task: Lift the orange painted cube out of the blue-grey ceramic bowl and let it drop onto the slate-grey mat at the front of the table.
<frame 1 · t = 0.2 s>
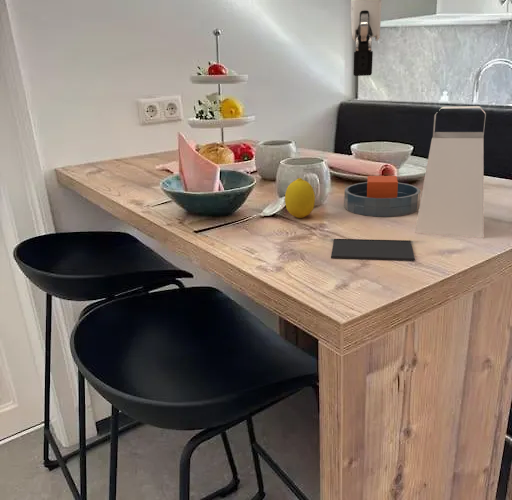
hand: (362, 74, 94), 25 cm above the table, tool pointing down, fingers open, 9 cm apart
grater: (449, 230, 85), on the table
cube: (381, 206, 98), point 1 cm above the table, touching bowl
lemon: (300, 221, 94), on the table
mat: (371, 249, 78), on the table
bowl: (381, 209, 98), on the table
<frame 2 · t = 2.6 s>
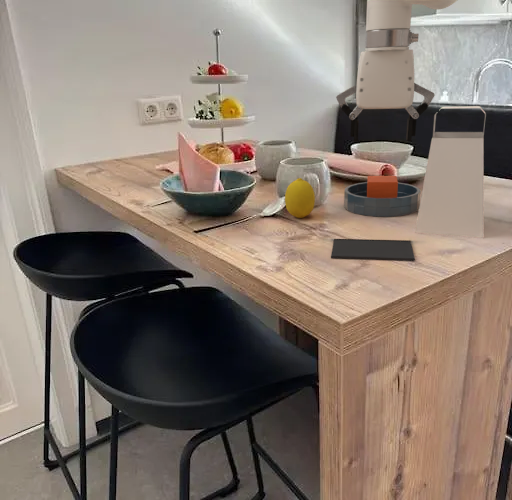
hand: (382, 140, 94), 13 cm above the table, tool pointing down, fingers open, 9 cm apart
nothing on the table moved.
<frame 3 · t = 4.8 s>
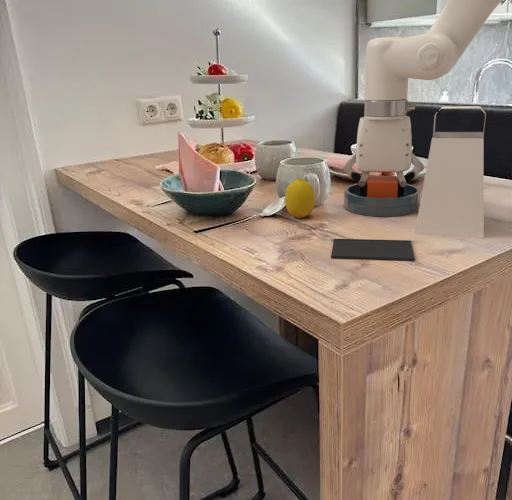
hand: (381, 204, 98), 1 cm above the table, tool pointing down, fingers closed on cube, 5 cm apart
cube: (381, 206, 98), point 1 cm above the table, touching bowl, gripper
everything else where it was.
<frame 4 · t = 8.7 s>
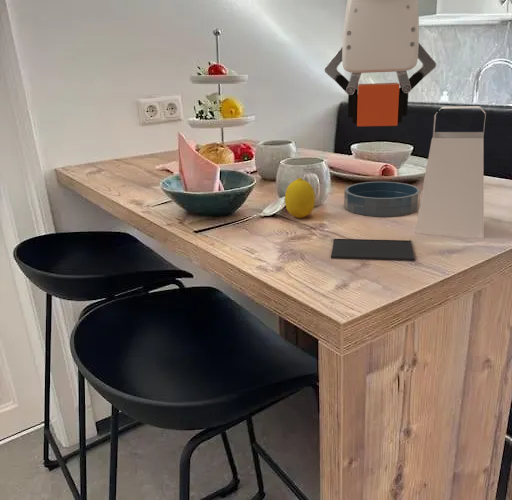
hand: (376, 121, 72), 19 cm above the table, tool pointing down, fingers closed on cube, 5 cm apart
cube: (376, 123, 72), point 19 cm above the table, touching gripper
everything else where it was.
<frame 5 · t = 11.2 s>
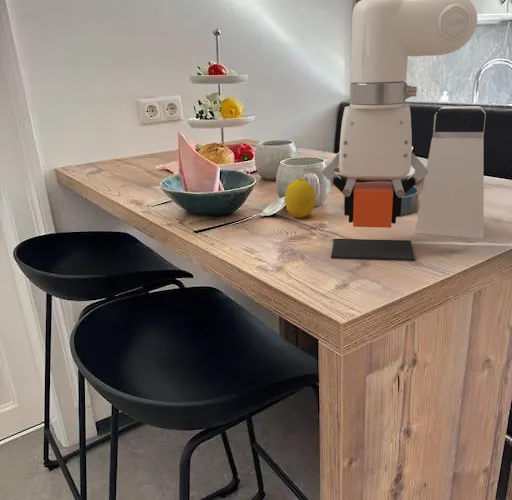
hand: (371, 219, 76), 5 cm above the table, tool pointing down, fingers closed on cube, 5 cm apart
cube: (371, 221, 76), point 4 cm above the table, touching gripper
everything else where it was.
when the fingers open (1 cm above the table, at t = 12.8 s): cube stays where it is, resting on mat.
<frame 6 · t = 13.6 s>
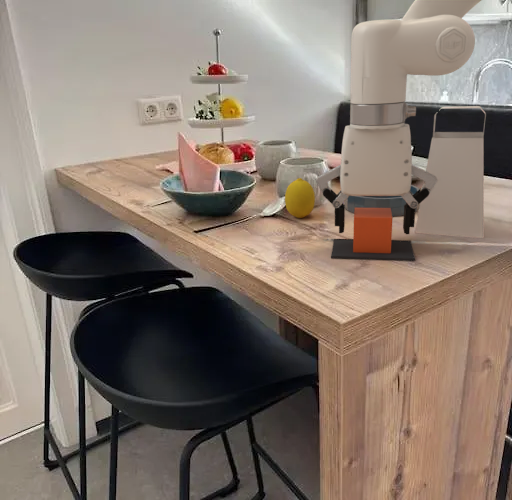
hand: (373, 231, 77), 3 cm above the table, tool pointing down, fingers open, 9 cm apart
cube: (371, 246, 77), resting on mat
everything else where it was.
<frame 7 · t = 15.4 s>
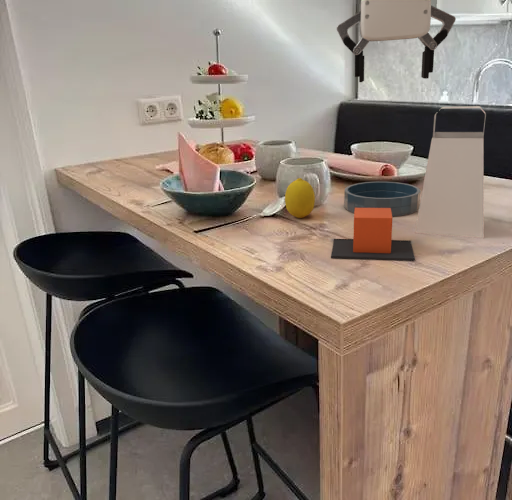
hand: (392, 80, 78), 24 cm above the table, tool pointing down, fingers open, 9 cm apart
nothing on the table moved.
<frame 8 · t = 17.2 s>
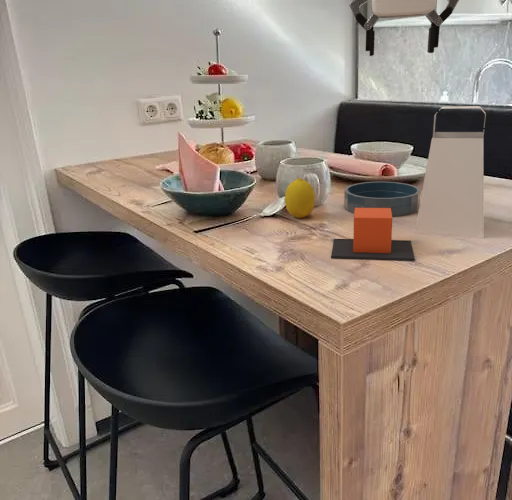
hand: (400, 54, 84), 28 cm above the table, tool pointing down, fingers open, 9 cm apart
nothing on the table moved.
at the end: cube inside the target area on the mat (0.1 cm from its centre), point 0.4 cm above the mat's base; cube touching mat; the gripper is holding nothing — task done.
